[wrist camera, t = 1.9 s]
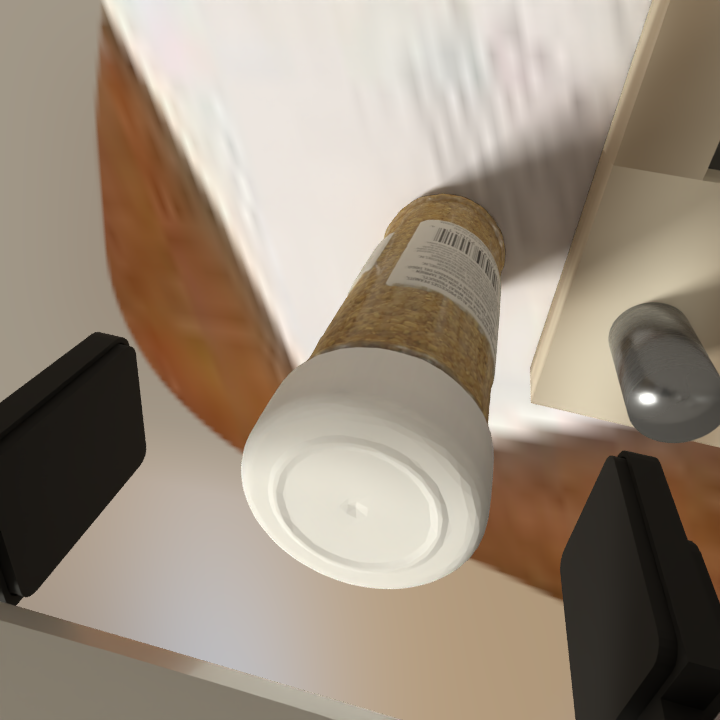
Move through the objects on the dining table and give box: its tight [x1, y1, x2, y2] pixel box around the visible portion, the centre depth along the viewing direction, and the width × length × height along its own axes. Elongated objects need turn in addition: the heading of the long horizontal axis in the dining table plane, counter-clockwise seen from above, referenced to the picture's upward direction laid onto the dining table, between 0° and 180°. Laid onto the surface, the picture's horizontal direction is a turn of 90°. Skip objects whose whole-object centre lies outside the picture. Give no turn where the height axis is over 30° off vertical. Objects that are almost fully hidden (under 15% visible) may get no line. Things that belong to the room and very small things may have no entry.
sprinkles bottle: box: [241, 194, 505, 589], centre depth 15 cm, size 5×5×14 cm
